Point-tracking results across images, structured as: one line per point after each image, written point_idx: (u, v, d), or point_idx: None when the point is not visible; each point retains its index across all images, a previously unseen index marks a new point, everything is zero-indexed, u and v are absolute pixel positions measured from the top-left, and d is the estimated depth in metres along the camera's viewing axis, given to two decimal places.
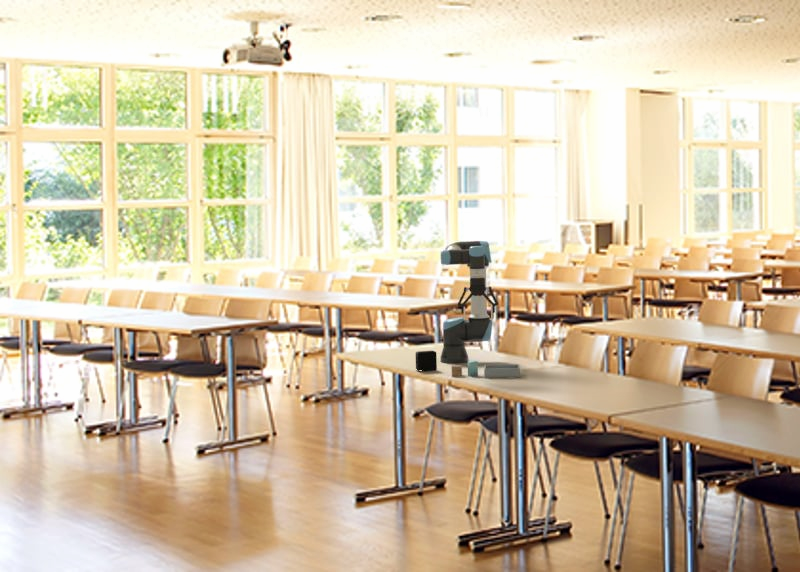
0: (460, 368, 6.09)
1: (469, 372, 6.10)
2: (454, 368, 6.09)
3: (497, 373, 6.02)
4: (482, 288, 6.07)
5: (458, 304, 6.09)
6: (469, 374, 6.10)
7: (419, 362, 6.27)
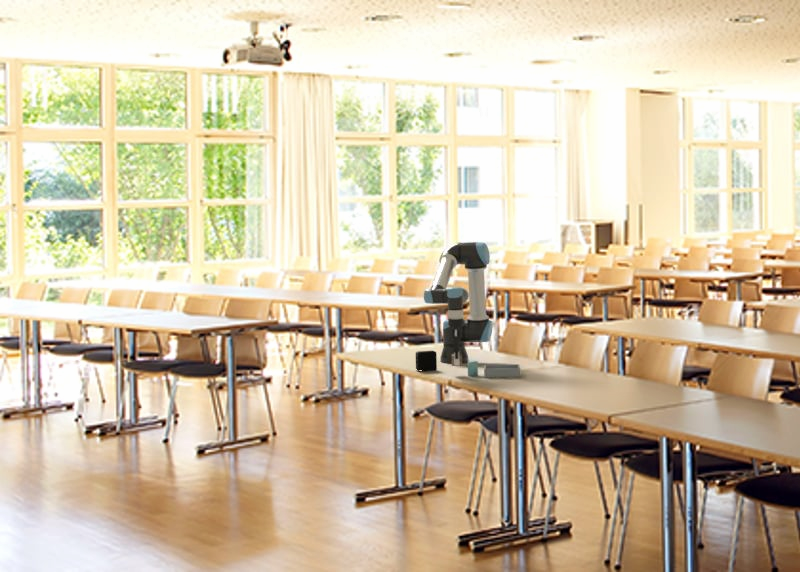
0: (460, 357, 6.09)
1: (469, 372, 6.10)
2: None
3: (497, 373, 6.02)
4: (453, 329, 6.08)
5: None
6: (469, 374, 6.10)
7: (419, 362, 6.27)
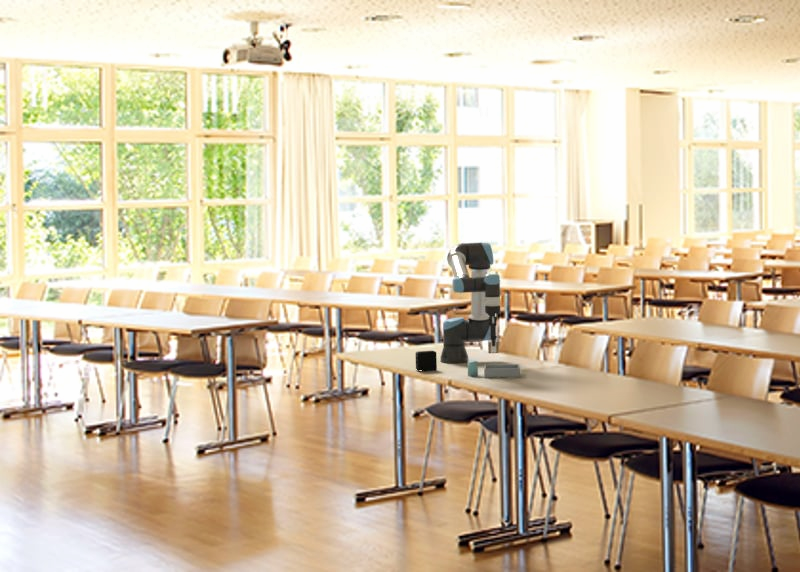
0: (497, 345, 6.05)
1: (469, 372, 6.10)
2: None
3: (497, 373, 6.02)
4: (490, 316, 6.04)
5: (490, 334, 6.13)
6: (469, 374, 6.10)
7: (419, 362, 6.27)
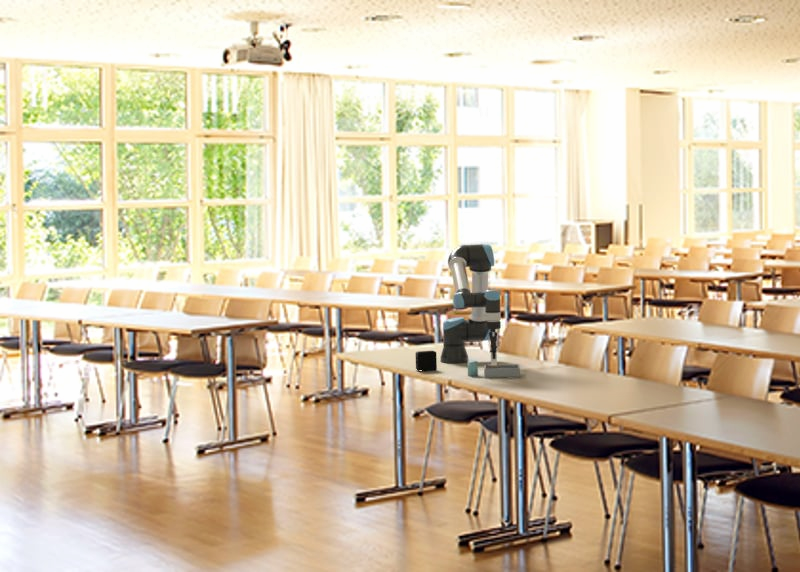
0: (497, 367, 6.06)
1: (469, 372, 6.10)
2: (491, 367, 6.07)
3: (497, 373, 6.02)
4: (491, 332, 6.05)
5: (490, 345, 6.17)
6: (469, 374, 6.10)
7: (419, 362, 6.27)
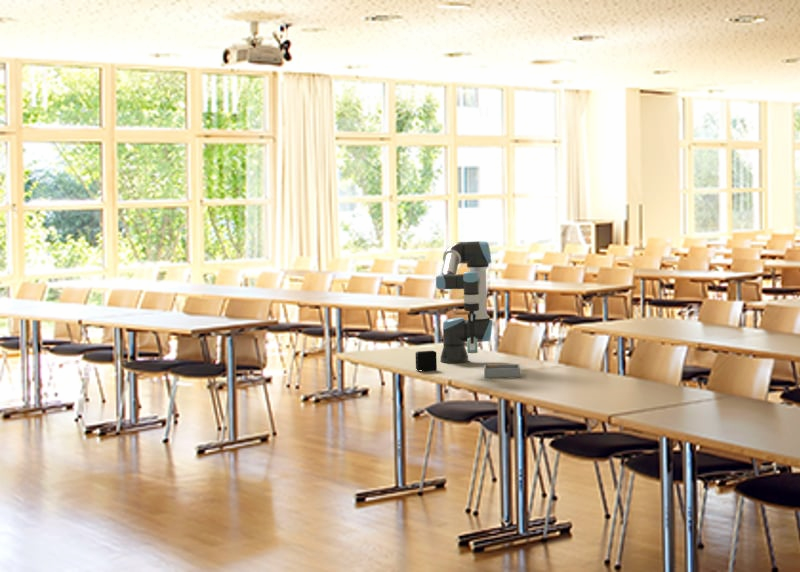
0: (497, 367, 6.06)
1: (469, 349, 6.09)
2: (491, 367, 6.07)
3: (497, 373, 6.02)
4: (469, 314, 6.07)
5: (469, 332, 6.16)
6: (469, 351, 6.09)
7: (419, 362, 6.27)
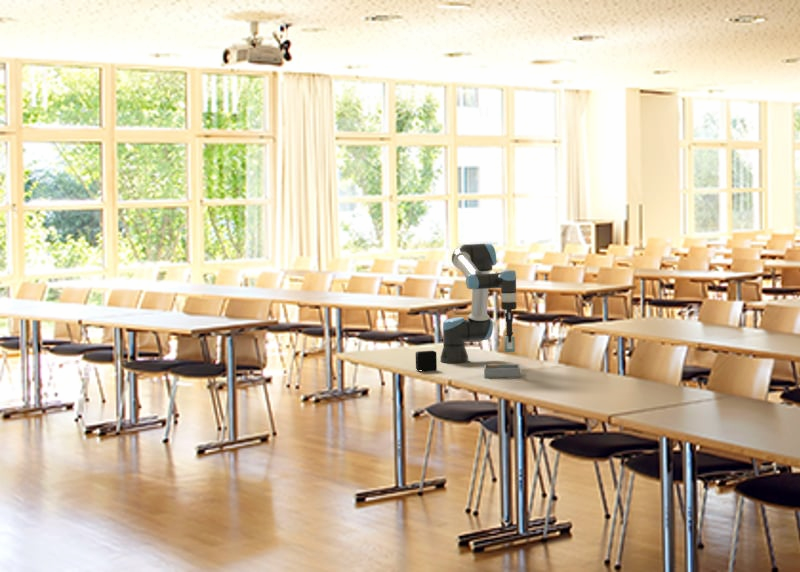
0: (497, 367, 6.06)
1: (506, 348, 6.06)
2: (491, 367, 6.07)
3: (497, 373, 6.02)
4: None
5: (506, 331, 6.12)
6: (506, 350, 6.06)
7: (419, 362, 6.27)
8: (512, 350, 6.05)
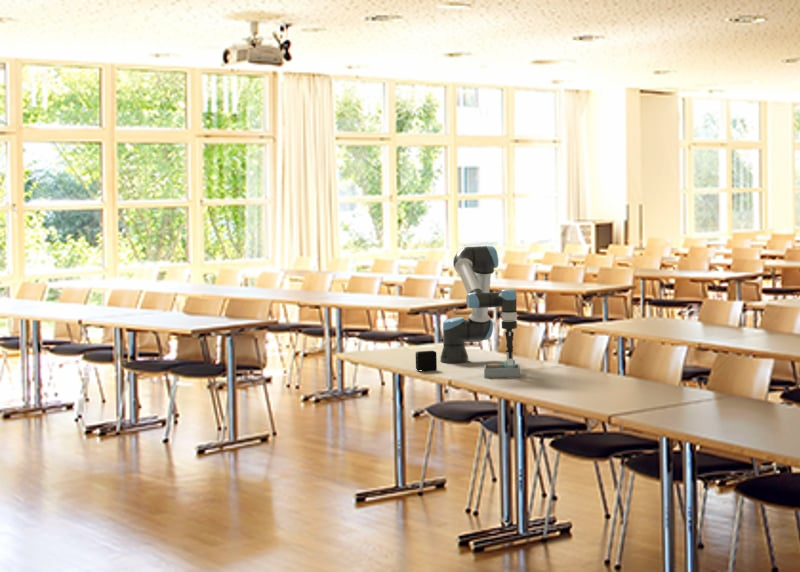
0: (497, 367, 6.06)
1: None
2: (491, 367, 6.07)
3: (497, 373, 6.02)
4: (507, 332, 6.04)
5: None
6: None
7: (419, 362, 6.27)
8: None
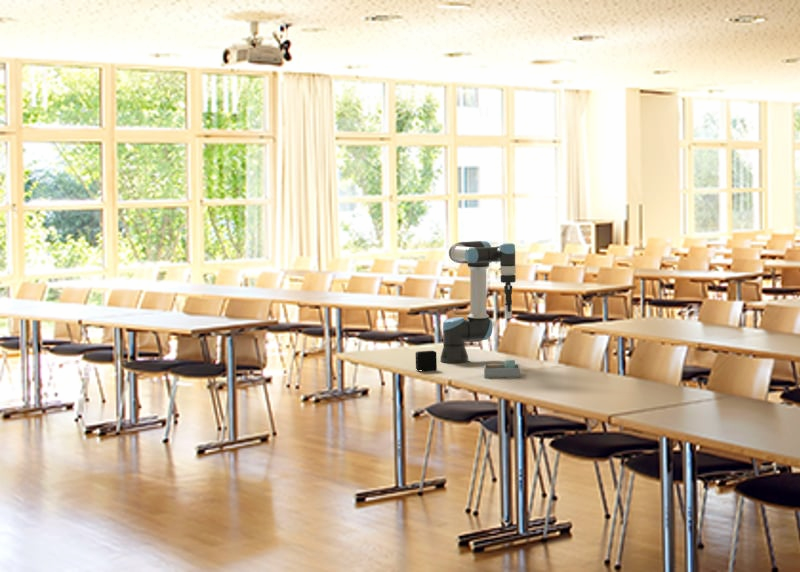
0: (497, 367, 6.06)
1: None
2: (491, 367, 6.07)
3: (497, 373, 6.02)
4: (506, 285, 6.08)
5: (505, 299, 6.21)
6: None
7: (419, 362, 6.27)
8: None
